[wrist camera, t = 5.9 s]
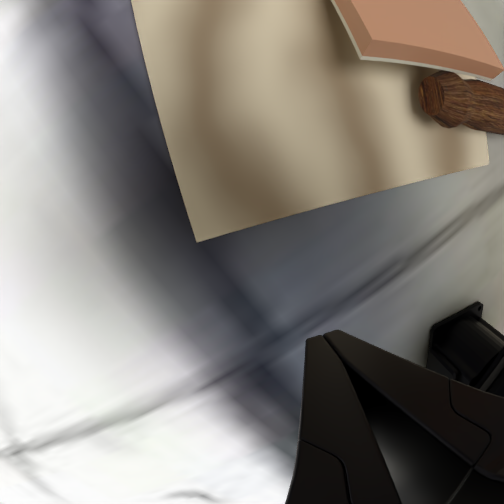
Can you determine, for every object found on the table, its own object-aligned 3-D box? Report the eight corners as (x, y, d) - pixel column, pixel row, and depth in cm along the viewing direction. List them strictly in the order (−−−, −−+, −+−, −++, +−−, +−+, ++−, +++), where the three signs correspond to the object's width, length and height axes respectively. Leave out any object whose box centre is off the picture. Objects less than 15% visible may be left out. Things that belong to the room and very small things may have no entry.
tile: (315, -27, 13) (441, 0, 14) (359, 59, 12) (490, 80, 13) (321, -45, 11) (450, -13, 12) (372, 39, 11) (504, 69, 12)
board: (414, -62, 12) (420, -66, 11) (480, 162, 19) (489, 164, 18) (123, -51, 11) (119, -59, 10) (196, 237, 18) (196, 242, 17)
